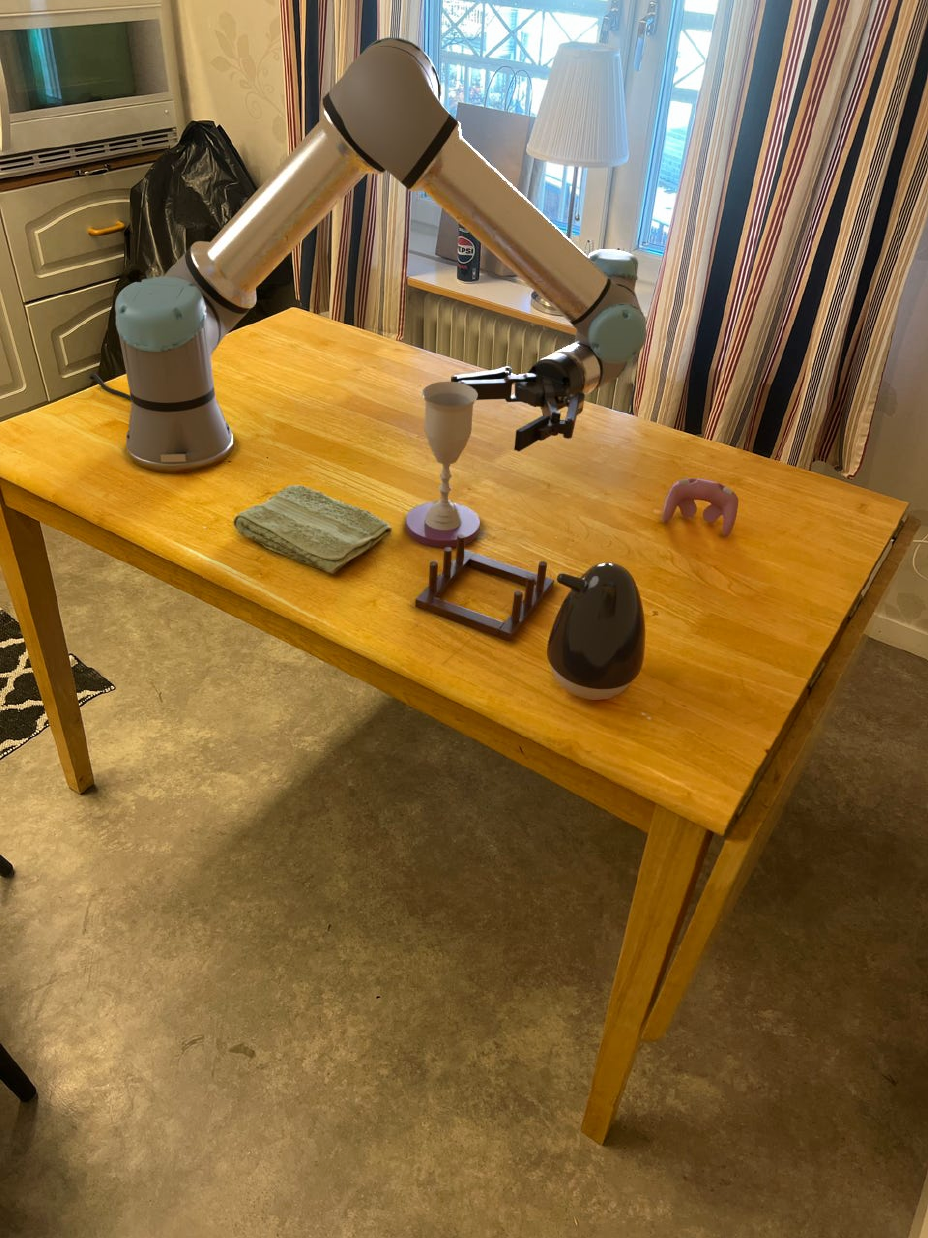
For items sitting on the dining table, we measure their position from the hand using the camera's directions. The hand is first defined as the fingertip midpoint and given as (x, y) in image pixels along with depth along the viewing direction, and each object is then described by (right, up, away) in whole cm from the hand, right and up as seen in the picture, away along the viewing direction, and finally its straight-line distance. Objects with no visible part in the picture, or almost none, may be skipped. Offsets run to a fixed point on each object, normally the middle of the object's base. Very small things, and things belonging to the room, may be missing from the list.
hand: (474, 424), depth 116 cm
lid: (-4, -13, +4) cm, 14 cm away
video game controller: (+32, -12, +10) cm, 35 cm away
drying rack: (+1, -23, -8) cm, 24 cm away
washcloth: (-21, -15, +1) cm, 26 cm away
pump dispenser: (+12, -32, -19) cm, 39 cm away
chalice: (-4, -12, +4) cm, 13 cm away
